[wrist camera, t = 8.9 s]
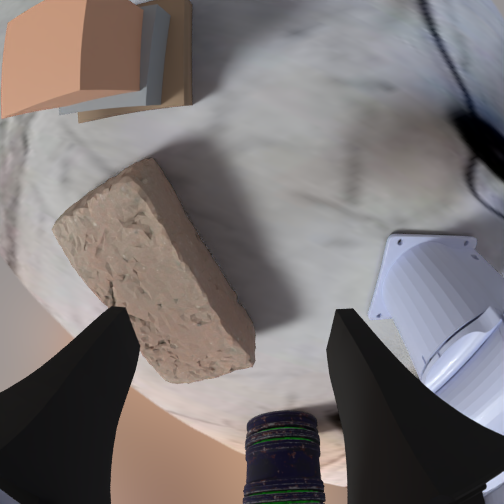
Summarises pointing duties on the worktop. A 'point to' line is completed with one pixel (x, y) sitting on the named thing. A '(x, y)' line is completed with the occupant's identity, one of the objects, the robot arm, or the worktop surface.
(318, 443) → the storage jar
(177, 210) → the brick
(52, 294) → the worktop surface
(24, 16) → the terracotta block
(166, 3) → the tower base
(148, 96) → the grey flat square block
